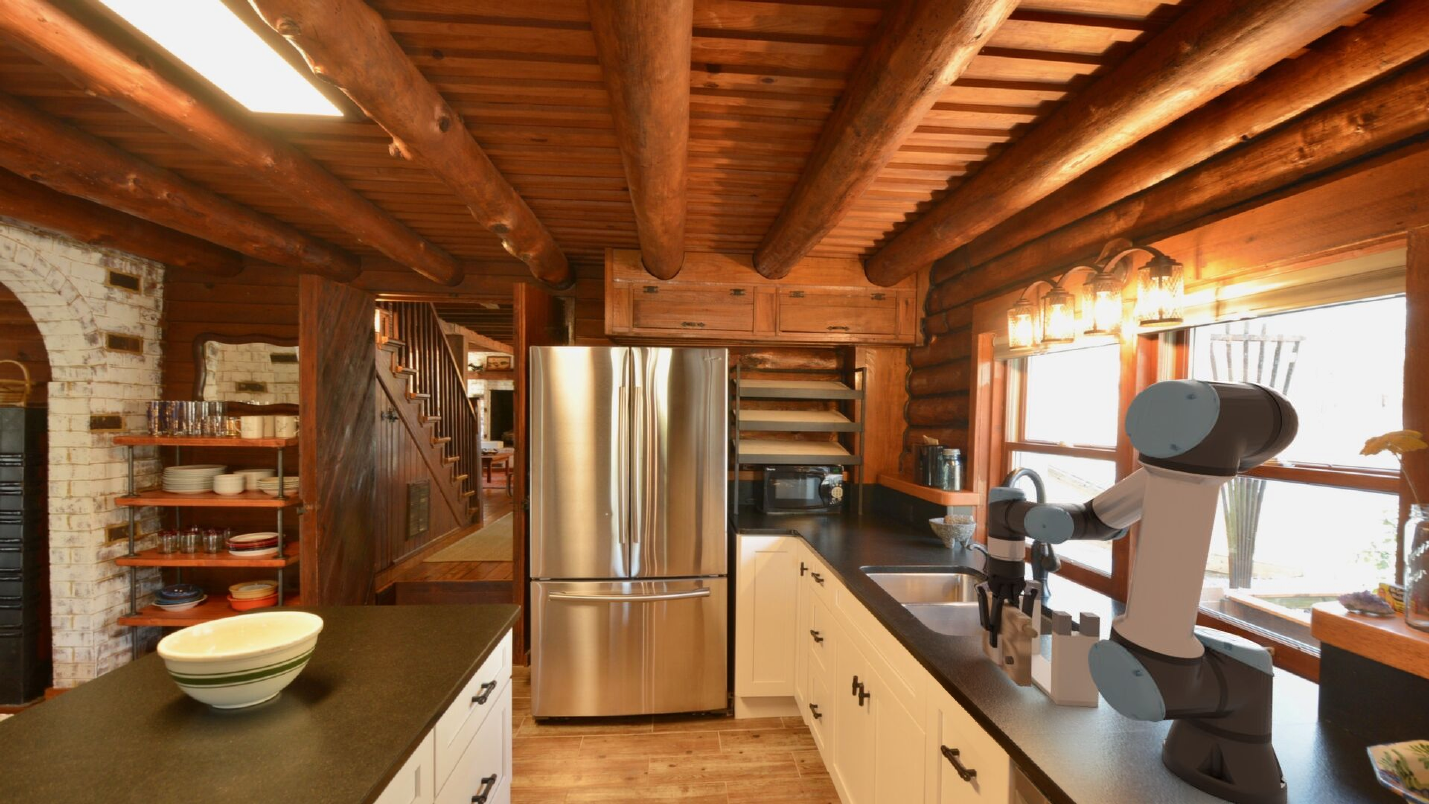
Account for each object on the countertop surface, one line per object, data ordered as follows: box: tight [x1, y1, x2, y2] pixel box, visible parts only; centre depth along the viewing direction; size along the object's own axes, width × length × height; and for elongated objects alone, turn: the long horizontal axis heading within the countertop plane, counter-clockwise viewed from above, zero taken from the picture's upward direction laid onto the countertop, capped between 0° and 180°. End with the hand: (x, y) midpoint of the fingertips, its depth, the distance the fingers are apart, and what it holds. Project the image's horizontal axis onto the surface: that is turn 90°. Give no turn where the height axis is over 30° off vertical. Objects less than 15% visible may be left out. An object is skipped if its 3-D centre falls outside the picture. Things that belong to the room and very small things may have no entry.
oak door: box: [981, 591, 1038, 688], centre depth 124 cm, size 25×4×14 cm, turn 177°
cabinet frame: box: [1005, 579, 1101, 708], centre depth 124 cm, size 25×8×18 cm, turn 177°
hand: (1004, 662), depth 124 cm, fingers closed on oak door, 2 cm apart
